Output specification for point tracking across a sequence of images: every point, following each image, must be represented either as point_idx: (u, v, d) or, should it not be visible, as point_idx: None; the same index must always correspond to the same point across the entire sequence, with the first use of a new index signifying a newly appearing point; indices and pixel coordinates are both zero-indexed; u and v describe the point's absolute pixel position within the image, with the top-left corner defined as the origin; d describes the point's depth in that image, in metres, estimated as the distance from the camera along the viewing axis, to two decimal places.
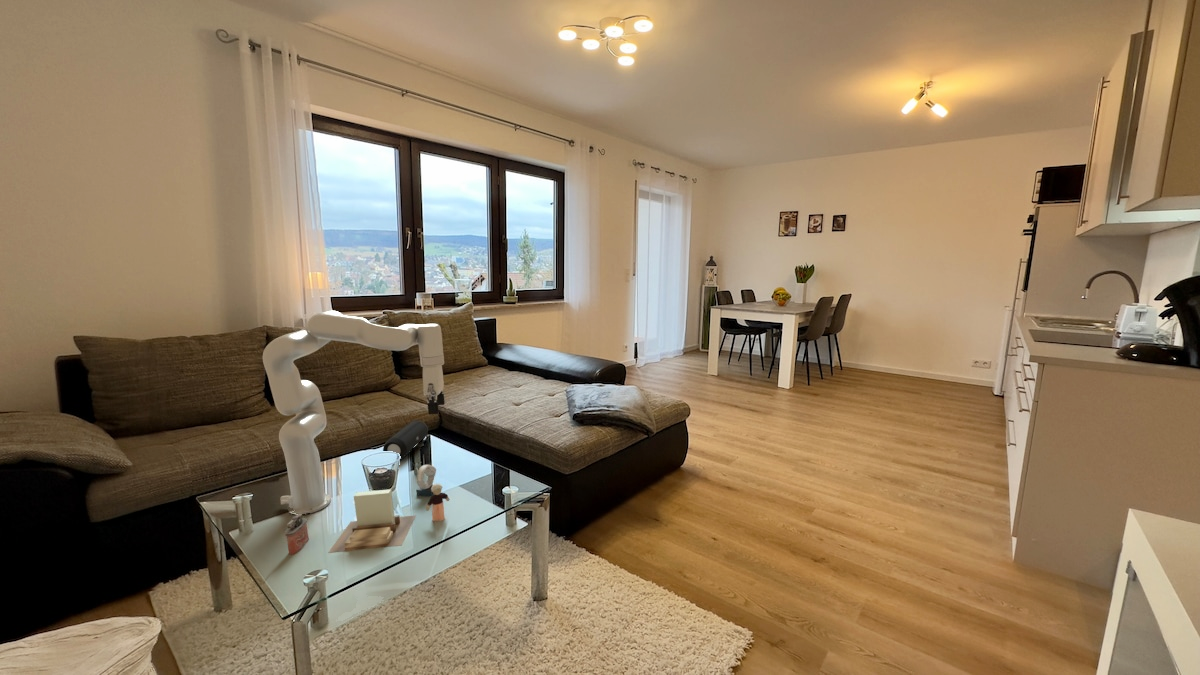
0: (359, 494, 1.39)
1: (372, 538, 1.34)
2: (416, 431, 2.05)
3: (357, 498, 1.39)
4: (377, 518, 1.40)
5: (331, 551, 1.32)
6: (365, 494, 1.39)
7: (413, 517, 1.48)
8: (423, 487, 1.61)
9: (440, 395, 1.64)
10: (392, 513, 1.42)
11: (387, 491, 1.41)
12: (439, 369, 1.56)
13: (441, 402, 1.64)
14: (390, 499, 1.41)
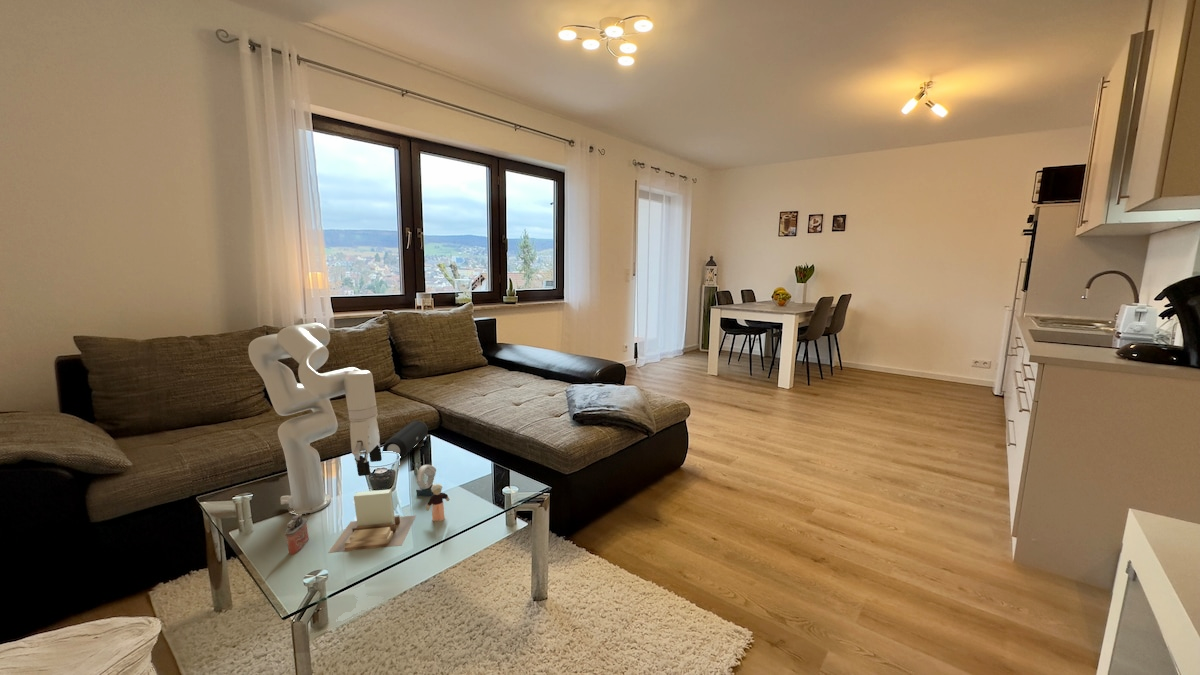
0: (359, 494, 1.39)
1: (372, 538, 1.34)
2: (416, 431, 2.05)
3: (357, 498, 1.39)
4: (377, 518, 1.40)
5: (331, 551, 1.32)
6: (365, 494, 1.39)
7: (413, 517, 1.48)
8: (423, 487, 1.61)
9: (376, 450, 1.43)
10: (392, 513, 1.42)
11: (387, 491, 1.41)
12: (371, 423, 1.35)
13: (377, 458, 1.43)
14: (390, 499, 1.41)
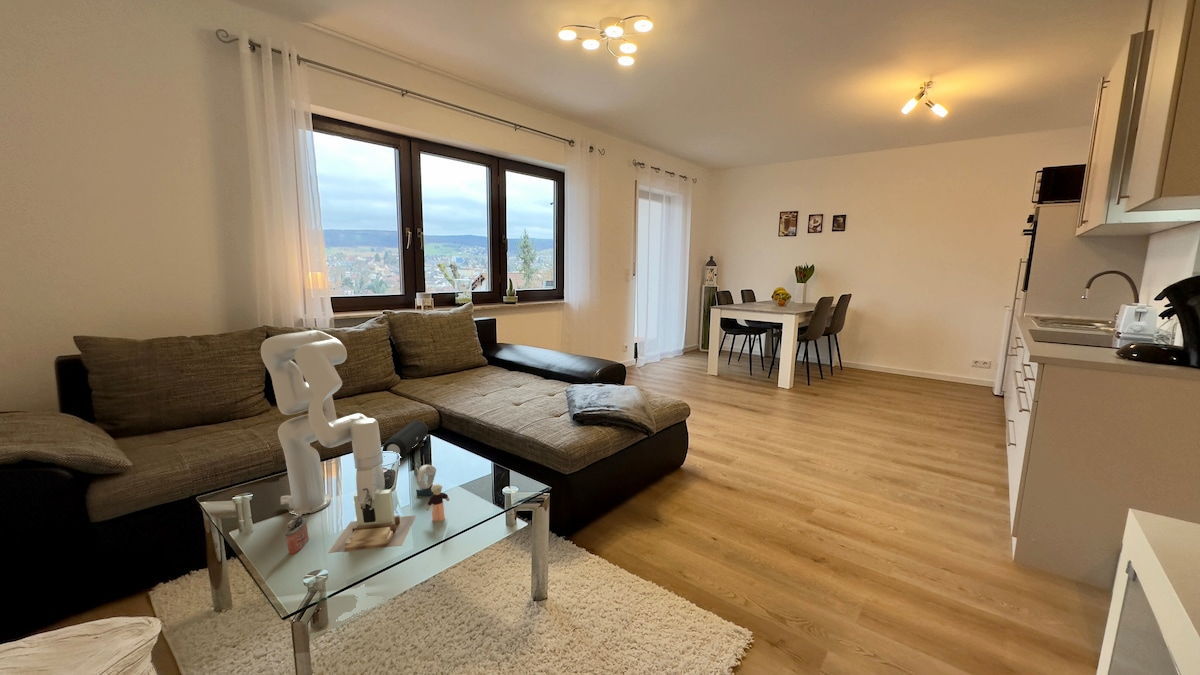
0: None
1: (372, 538, 1.34)
2: (416, 431, 2.05)
3: (357, 498, 1.39)
4: (377, 518, 1.40)
5: (331, 551, 1.32)
6: None
7: (413, 517, 1.48)
8: (423, 487, 1.61)
9: None
10: (392, 513, 1.42)
11: (387, 491, 1.41)
12: (376, 470, 1.38)
13: None
14: (390, 499, 1.41)
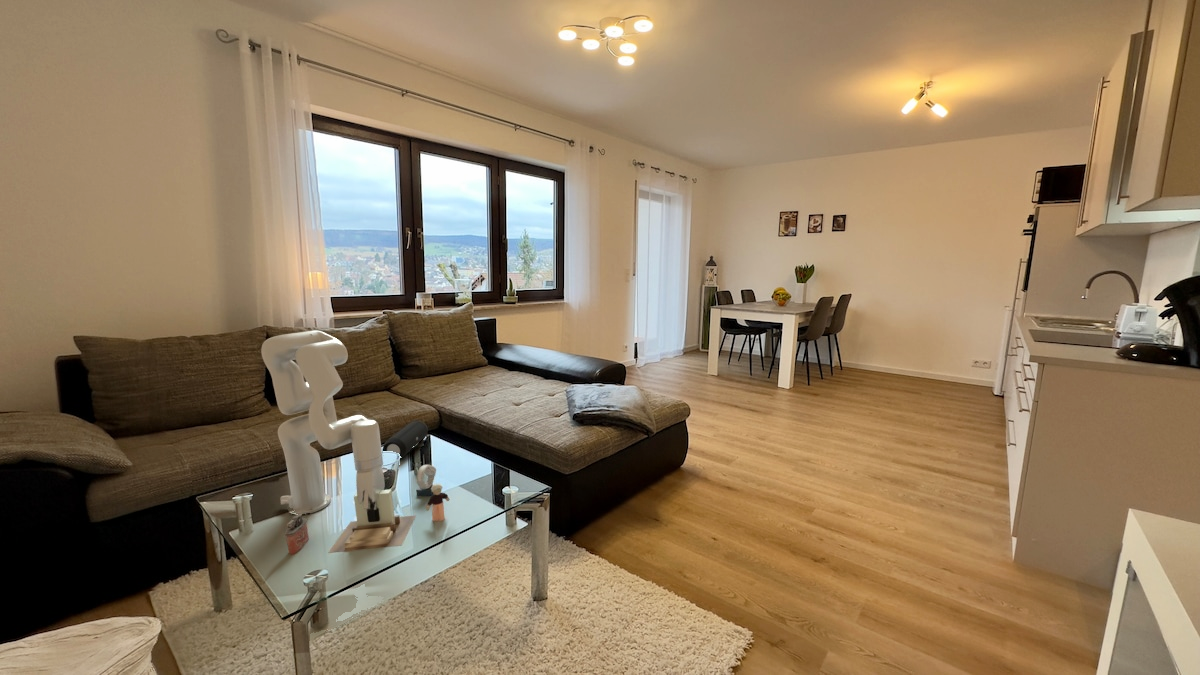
0: None
1: (372, 538, 1.34)
2: (416, 431, 2.05)
3: None
4: None
5: (331, 551, 1.32)
6: None
7: (413, 517, 1.48)
8: (423, 487, 1.61)
9: None
10: (392, 513, 1.42)
11: (387, 491, 1.41)
12: (376, 472, 1.38)
13: None
14: (390, 499, 1.41)
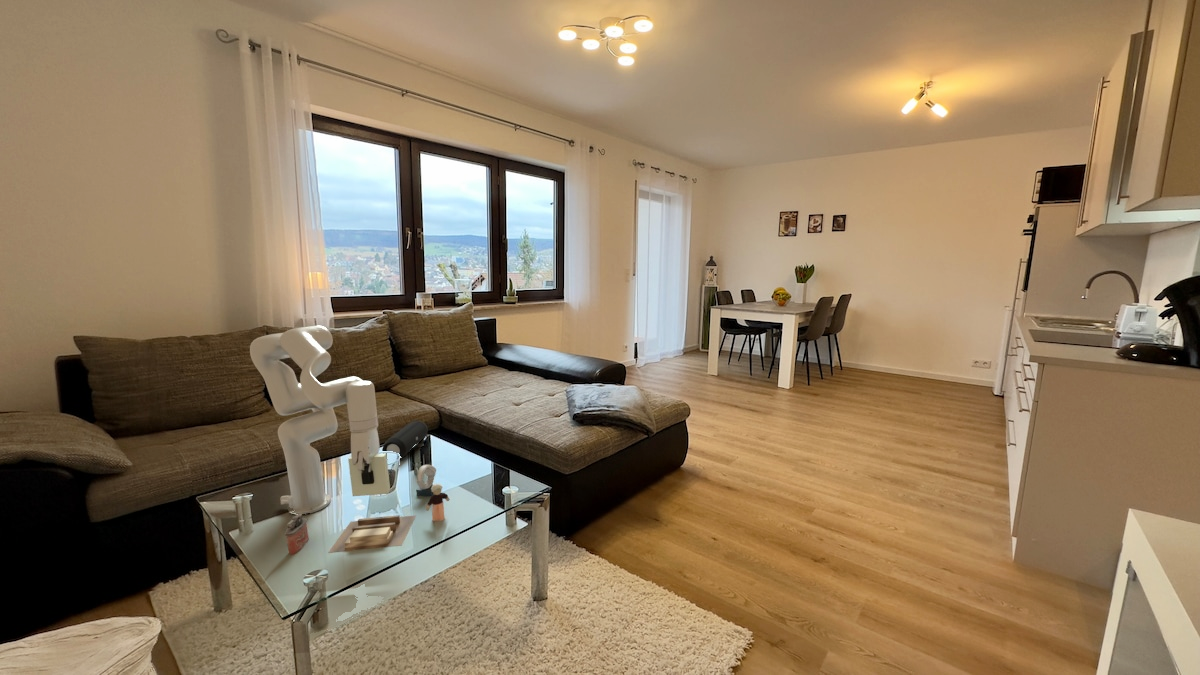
0: None
1: (372, 538, 1.34)
2: (415, 431, 2.05)
3: (351, 460, 1.37)
4: None
5: (331, 551, 1.32)
6: None
7: (413, 517, 1.48)
8: (423, 487, 1.61)
9: None
10: (387, 477, 1.40)
11: (382, 454, 1.39)
12: (371, 433, 1.36)
13: None
14: (385, 463, 1.39)
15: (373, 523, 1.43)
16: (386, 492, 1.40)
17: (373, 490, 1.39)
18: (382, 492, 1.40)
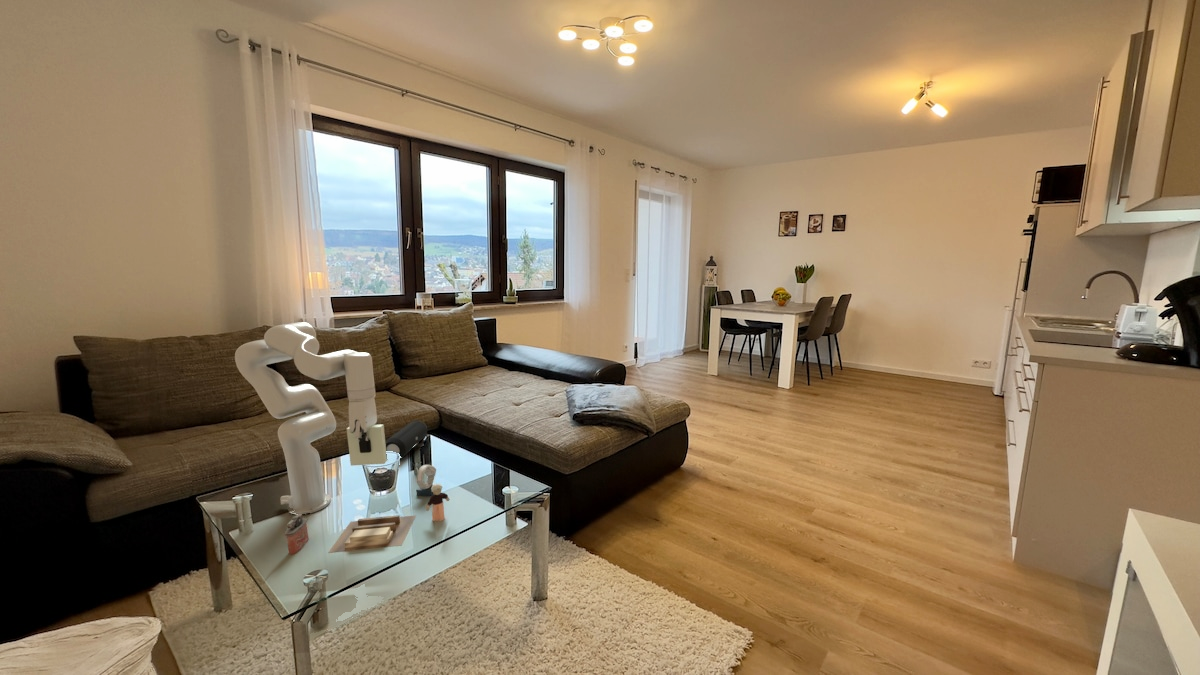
0: None
1: (372, 538, 1.34)
2: (415, 431, 2.05)
3: (349, 430, 1.42)
4: None
5: (331, 551, 1.32)
6: None
7: (413, 517, 1.48)
8: (423, 487, 1.61)
9: None
10: (384, 447, 1.45)
11: (379, 425, 1.44)
12: (368, 403, 1.41)
13: None
14: (382, 433, 1.44)
15: (373, 523, 1.43)
16: (383, 462, 1.45)
17: (371, 460, 1.44)
18: (379, 462, 1.44)
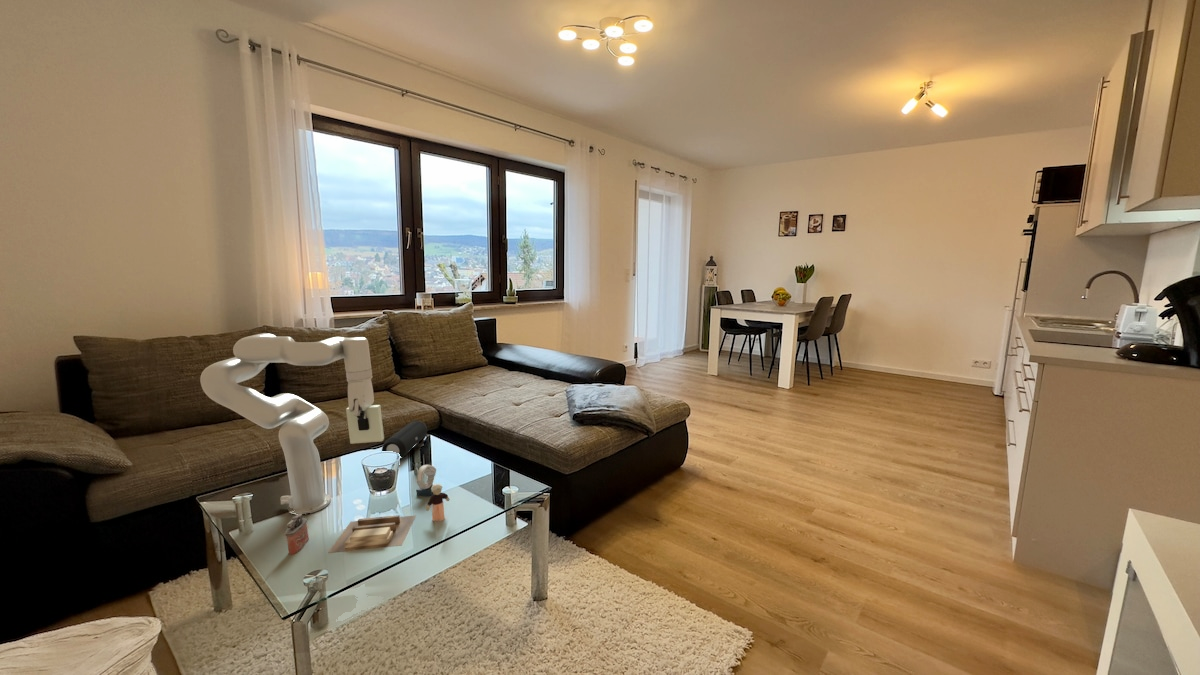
0: None
1: (372, 538, 1.34)
2: (415, 431, 2.05)
3: None
4: (367, 430, 1.55)
5: (331, 551, 1.32)
6: None
7: (413, 517, 1.48)
8: (423, 487, 1.61)
9: None
10: (381, 426, 1.56)
11: (376, 406, 1.55)
12: (366, 384, 1.52)
13: None
14: (379, 413, 1.55)
15: (373, 523, 1.43)
16: (380, 440, 1.56)
17: (369, 438, 1.55)
18: (377, 440, 1.56)
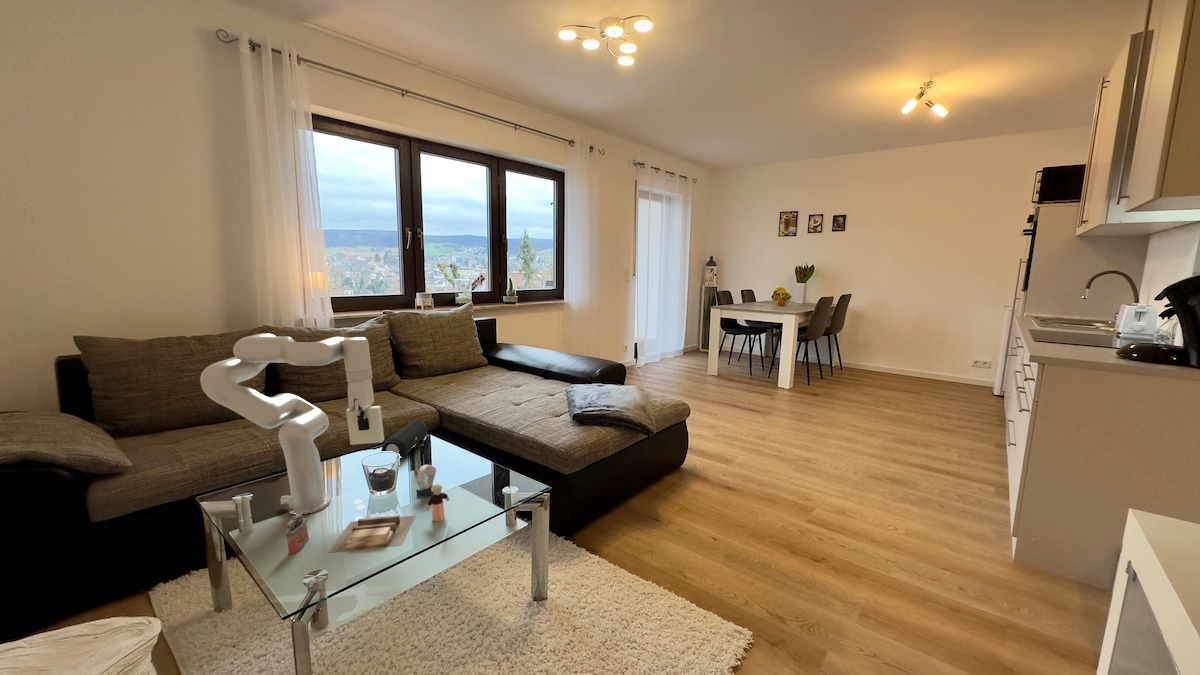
0: None
1: (372, 538, 1.34)
2: (415, 431, 2.05)
3: (349, 411, 1.53)
4: (368, 431, 1.55)
5: (331, 551, 1.32)
6: None
7: (413, 517, 1.48)
8: (423, 487, 1.61)
9: None
10: (381, 427, 1.56)
11: (376, 407, 1.55)
12: (366, 384, 1.52)
13: None
14: (379, 414, 1.55)
15: (373, 523, 1.43)
16: (380, 441, 1.56)
17: (369, 439, 1.55)
18: (377, 441, 1.56)
